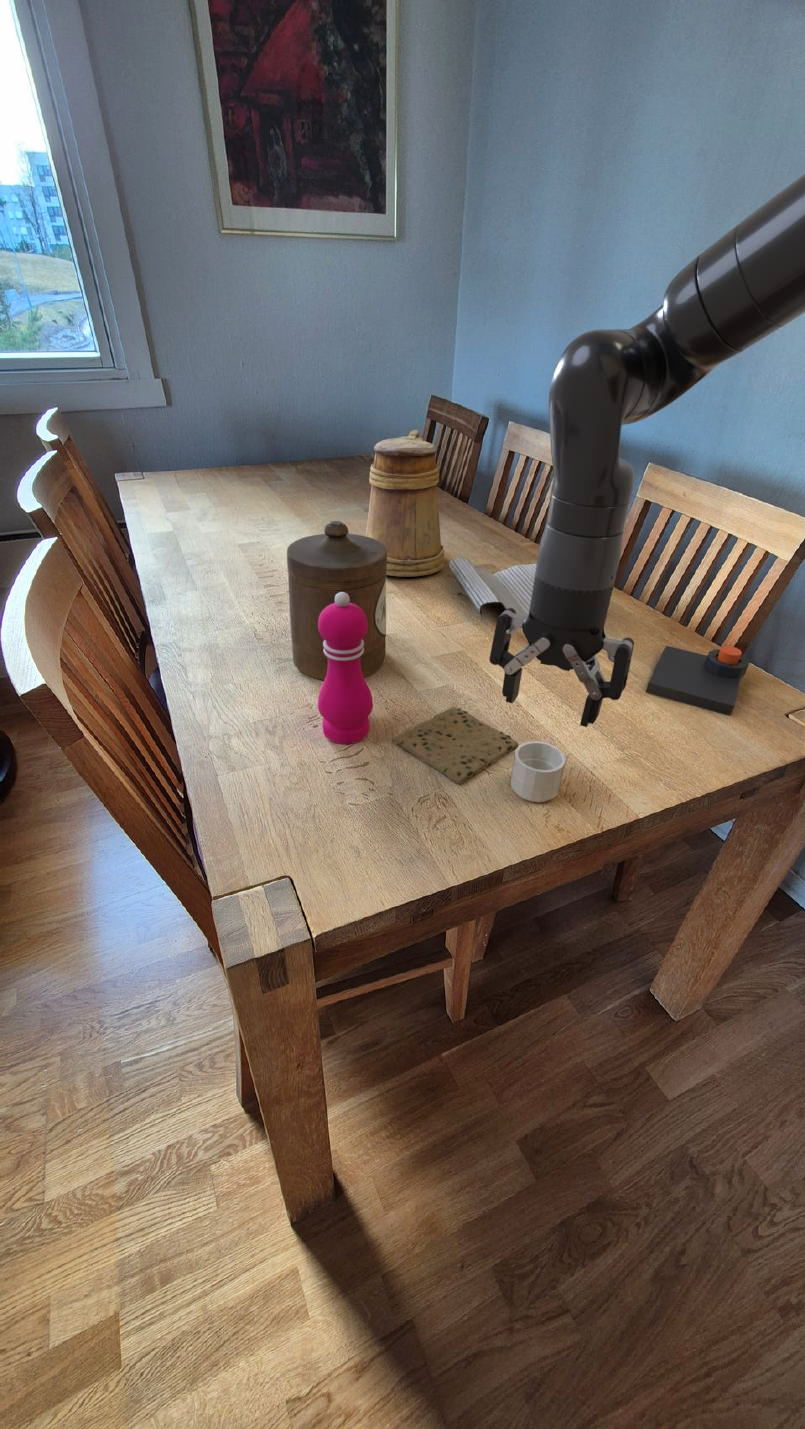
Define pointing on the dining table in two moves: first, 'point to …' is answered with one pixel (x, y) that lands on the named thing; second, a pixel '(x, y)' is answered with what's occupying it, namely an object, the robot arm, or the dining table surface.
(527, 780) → the white cup
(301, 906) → the dining table surface
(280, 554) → the dining table surface
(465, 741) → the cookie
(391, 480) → the tankard
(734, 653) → the button
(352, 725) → the pepper mill
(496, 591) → the mat
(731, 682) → the scale
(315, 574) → the wooden container
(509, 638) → the robot arm
